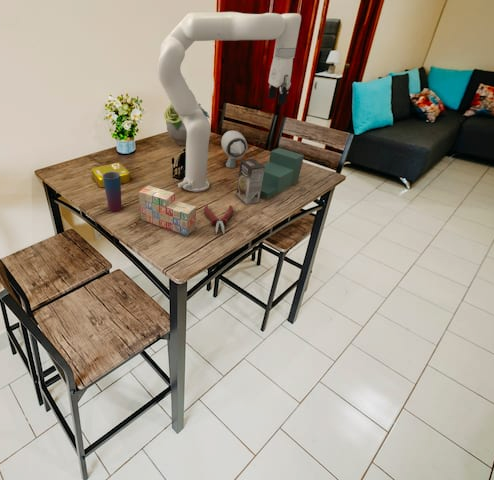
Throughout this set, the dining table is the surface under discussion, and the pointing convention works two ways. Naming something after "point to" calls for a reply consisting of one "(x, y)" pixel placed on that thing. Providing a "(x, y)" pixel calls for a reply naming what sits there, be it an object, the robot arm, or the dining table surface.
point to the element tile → (116, 167)
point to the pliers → (216, 221)
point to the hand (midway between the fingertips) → (276, 101)
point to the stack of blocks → (166, 210)
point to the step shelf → (280, 172)
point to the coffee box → (250, 180)
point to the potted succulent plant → (177, 125)
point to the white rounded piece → (234, 146)
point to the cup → (113, 190)
